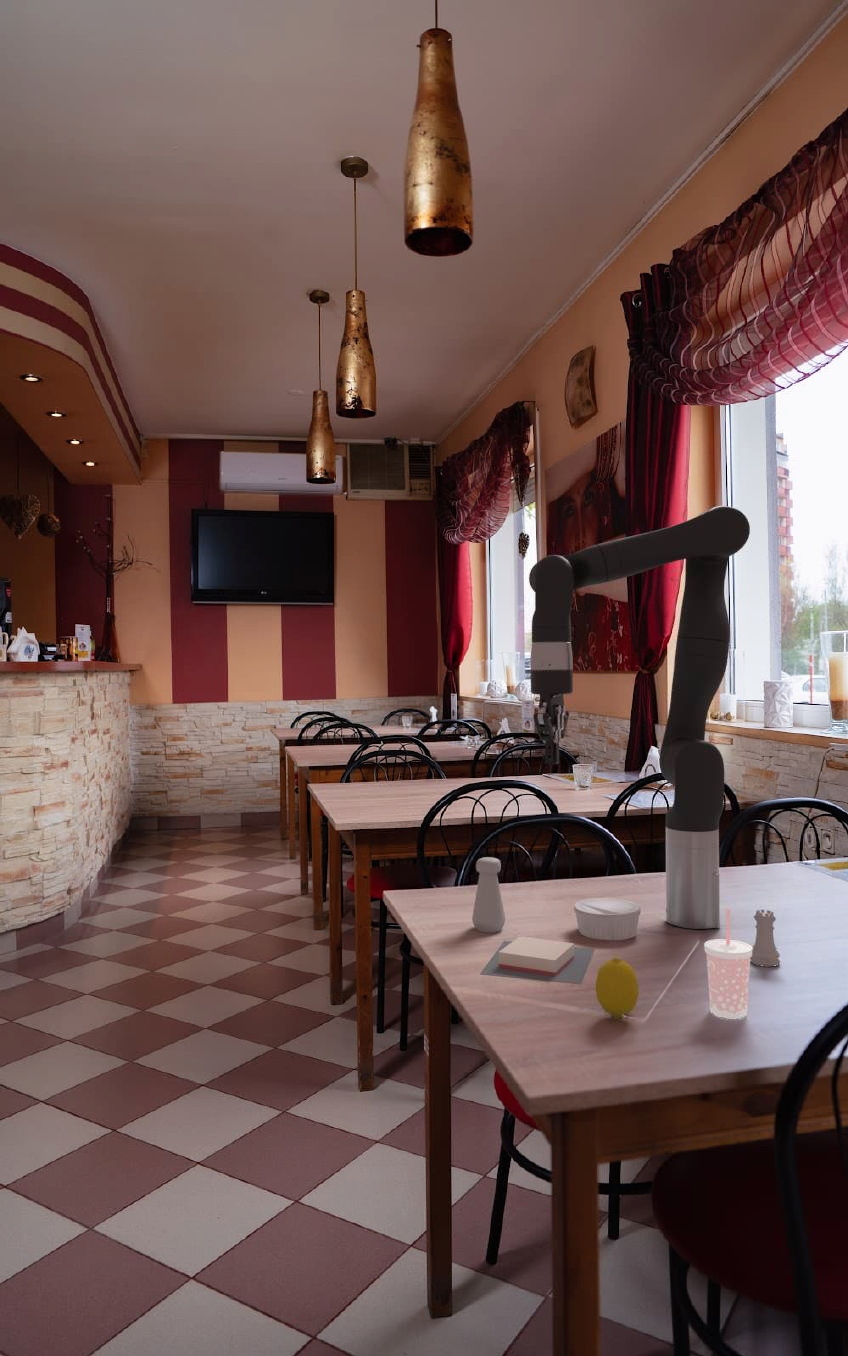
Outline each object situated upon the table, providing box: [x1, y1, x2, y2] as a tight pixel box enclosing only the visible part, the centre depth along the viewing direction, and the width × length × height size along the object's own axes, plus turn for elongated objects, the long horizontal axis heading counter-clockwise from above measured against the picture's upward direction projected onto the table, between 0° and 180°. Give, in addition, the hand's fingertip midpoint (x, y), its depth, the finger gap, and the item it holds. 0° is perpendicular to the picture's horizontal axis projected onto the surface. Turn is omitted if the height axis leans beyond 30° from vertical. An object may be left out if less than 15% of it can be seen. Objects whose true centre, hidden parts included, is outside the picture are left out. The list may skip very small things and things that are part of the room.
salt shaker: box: [471, 856, 506, 934], centre depth 156 cm, size 6×6×13 cm
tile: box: [499, 935, 575, 976], centre depth 137 cm, size 2×9×9 cm
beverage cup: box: [703, 907, 754, 1019], centre depth 118 cm, size 6×6×14 cm
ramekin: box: [573, 897, 641, 941], centre depth 154 cm, size 11×11×5 cm
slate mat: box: [479, 940, 595, 985], centre depth 139 cm, size 15×17×1 cm
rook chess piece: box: [750, 909, 781, 967], centre depth 139 cm, size 4×4×8 cm
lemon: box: [595, 957, 640, 1020], centre depth 117 cm, size 6×6×8 cm
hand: (552, 763), depth 160 cm, fingers closed
